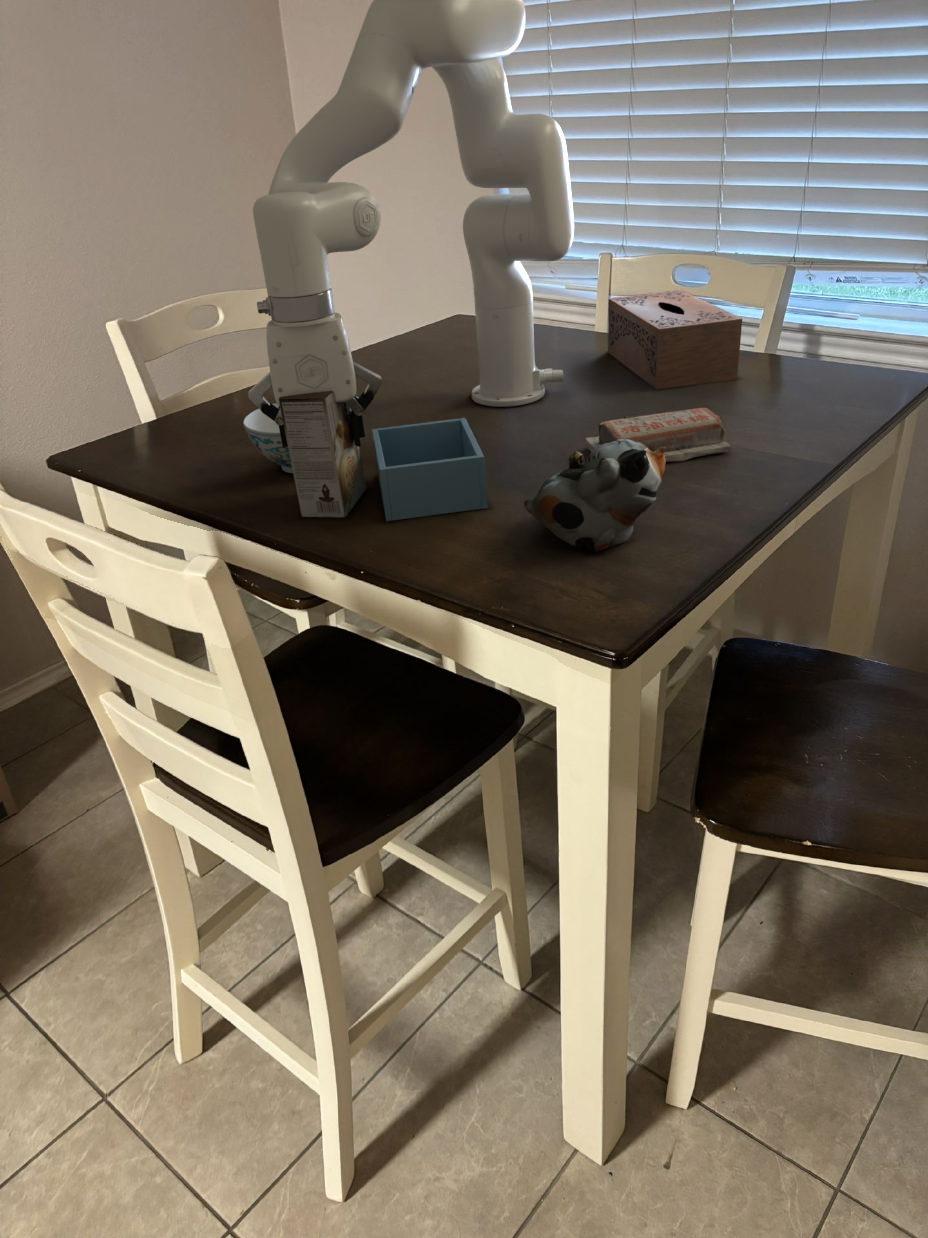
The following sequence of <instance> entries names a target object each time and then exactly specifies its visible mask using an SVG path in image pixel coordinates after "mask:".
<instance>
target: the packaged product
mask: <svg viewBox="0 0 928 1238" xmlns="http://www.w3.org/2000/svg"><path fill="white" fill-rule="evenodd" d="M725 434H726V431H725V428H724V427H723V423H722V420H721V419H720V416H719V415H717V414H716V413H714V412H713V411H712V410H710V409H709V408H707V407H695V408H690V409H689V408H688V409H681V410H680V409H679V410H674V411H666V412H661V413H660V412H659V413H652V414H646V415H645V414H644V415H639V416H633V417H632V416H631V417H625V418H619V419H618V418H617V419H611V420H605V421H601V422H600V423H599V424H598V435H597V436H591V437H590V436H589V437H585V444H586V449H588V451H590V453H591V452H592V451H593V450H595V449H597V447H599V446H600V445H602V444H605V443H610V442H613V441H617V440H618V439H628V440H632V441H634V442H639V443H642V444H643V445H645V446H646V447H647V448H648V449H649V450H651V451H652V452H654V451H655V450H657V449H658V448H660V447H666V452H665V453H664V456H665V463H666V462H685V461H688V460H689V459H692V458H698V457H703V456H709V455H710V456H711V455H716V454H717V455H718V454H722V453H728V452H730V451H731V449H732V445H731V444H730V443H728V442H727V441H726V440H724V438H725Z"/></svg>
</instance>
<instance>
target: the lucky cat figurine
mask: <svg viewBox="0 0 928 1238" xmlns="http://www.w3.org/2000/svg"><path fill="white" fill-rule="evenodd" d="M665 452H666V447H660V448H658V449H657V450H655V451H654V452H652V451H651V450H649V449H648V448H647V447H646V446H645V445H643V444H642V443H639V442H634V441H632V440H628V439H618V440H617V441H613V442H610V443H605V444H602V445H600V446H599V447H597V449H595V450H593V451H592V452H591V451H590V454H589V455H588V456H587V458H586V461H585V456H584V454H583V453H581V452H579V451H575V452H574V453H572V454H571V455H570V456H569V457H568V464H569V466H568V467H567V468H565V469H563V470H562V471H559V472H555V473H553V474H551V475H550V476H549V477H548V478H546V479H545V480H544V482H543V483H542V485H541V487H540V488H539V490H538V492H537V494H536V495H535V496H534V497H530V498H528V499H526V500H524V502H523V504H524V505H523V506H524V508H525V510H526V511H527V512H528V513H529V514H530V515H531V516H532V517H533V518H535V519H536V520H537V521H538V522H540V523H541V524H542V525H543V526H545V527H546V528H547V529H548V530H549V531H550V532H551V533H552V534H553V535H555V536H556V537H557V538H559V539H561V540H563V541H564V542H565V543H567V544H569V545H571V546H573V547H577V548H578V547H581V546H586V548H587V549H588V551H589V552H590V553H591V552H594V553H599V552H601V551H604V550H606V549H609V548H612V547H614V546H617V545H620V544H623V543H625V542H627V541H629V539H630V538H631V536H632V534H633V533H634V524H635V521H636V520H637V518H638V517H639V516H641V514H642V513H644V512H647V511H648V509H649V508H650V507H651V506H652V505H653V504H654V503H655V502H656V501H657V491H658V489H659V487H660V485H661V483H662V477H663V475H664V473H665V470H666V462H665V456H664V453H665Z"/></svg>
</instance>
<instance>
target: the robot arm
mask: <svg viewBox="0 0 928 1238" xmlns="http://www.w3.org/2000/svg"><path fill="white" fill-rule="evenodd" d="M525 27H526V7H525V4H524V0H372V2H371V3H370V6H369V7H368V10H367V12H366V14H365V17H364V20H363V23H362V25H361V28H360V31H359V33H358V36H357V39H356V41H355V43H354V47H353V49H352V52H351V55H350V57H349V60H348V64H347V66H346V68H345V71H344V73H343V76H342V79H341V82H340V85H339V87H338V89H337V92H336V93H335V94H334V96H333V97H332V98H331V99H330V100H329V101H328V102H326V103H325V104H324V105H323V106H322V107H321V108H320V109H319V110H318V111H317V112H316V113H315V114H314V115H313V116H312V117H311V118H310V119H309V121H308V122H307V123H306V124H305V125H304V126H302V128H300V130H299V131H298V132H297V133H296V134H295V136H294V137H293V138H292V139H291V140H290V142H289V143H288V144H287V146H286V148H285V150H284V151H283V153H282V155H281V157H280V159H279V162H278V164H277V167H276V170H275V171H274V172H275V173H274V175H273V178H272V181H271V184H270V187H269V189H268V194H266V195H263V196H260V197H259V198H257V199H256V200H255V201H254V203H253V206H252V216H253V223H254V227H255V232H256V233H255V234H256V238H257V244H258V250H259V255H260V259H261V265H262V270H263V271H262V272H263V276H264V283H265V288H266V292H267V297H265V299H262V301H256V308H257V311H258V312H257V313H258V315H259V314H260V315H261V314H264V315H268V317H270V318H271V320H269V321H268V322H267V323H266V349H267V358H268V359H267V360H268V368H269V372H268V373H267V374H265V375H264V377H262V379H260V380H259V381H258V382H257V383H256V384H255V385H254V386H253V387H252V388H251V389H249V391H248V394H247V397H248V400H249V401H251V403H253V404H254V405H255V406H256V407H257V409H260V410H261V411H262V413H264V414H265V415H266V416H268V417H269V418H271V419H272V420H273V421H275V423H276V424H277V425H279V430H280V436H281V441H282V446H283V447H288V444H287V439H286V434H285V428H284V423H283V418H282V413H281V408H280V403H279V398H280V397H284V396H290V395H298V394H306V393H315V392H325V391H333V392H334V395H335V400H336V402H337V403H339V402H345V403H346V404H347V405H348V406H349V407H350V409H351V410H352V412H351V419H352V426H353V433H354V440H355V446H357V447H361V446H362V444H361V438H362V439H363V438H366V433H365V427H364V419H363V415H364V413H365V411H366V410H367V408H368V407H369V406H370V405H371V403H372V402H373V401H374V399H375V396H376V394H377V392H378V391H379V389H380V387H381V385H382V383H383V380H382V377H381V375H380V374H378V373H376V372H374V371H372V370H370V369H368V368H367V367H364V366H362V365H361V364H359V363H357V362H355V361H353V355H352V350H351V346H350V340H349V336H348V333H347V329H346V326H345V323H344V319H343V317H342V315H341V314H340V313H339V312H336V311H335V303H334V297H333V291H332V283H331V276H330V269H329V262H328V255H329V254H332V253H334V254H335V253H346V252H354V251H359V250H362V249H363V248H365V247H367V246H368V245H370V243H371V242H372V241H374V239H375V238H376V236H377V235H378V232H379V230H380V228H381V227H380V226H381V221H382V220H381V218H382V217H381V208H380V206H379V202H378V201H377V199H376V198H375V196H374V194H373V193H372V192H371V191H370V190H369V189H368V188H366V187H364V186H362V185H360V184H358V183H353V182H348V181H346V182H343V181H341V182H340V181H338V182H337V181H336V182H335V181H334V182H332V181H331V182H329V181H330V180H331V178H332V177H333V176H334V175H335V174H336V173H337V172H339V171H340V170H341V169H342V168H344V167H345V166H346V165H347V164H349V163H351V162H353V161H355V160H357V159H359V158H360V157H362V156H364V155H366V154H368V153H370V152H373V151H374V150H376V149H378V148H380V147H382V146H383V145H385V144H387V143H388V142H389V141H391V140H392V139H393V138H395V137H396V136H397V135H398V134H399V132H400V131H401V129H402V127H403V125H404V122H405V119H406V116H407V113H408V110H409V108H410V104H411V102H412V99H413V97H414V94H415V91H416V88H417V85H418V82H419V80H420V77H421V74H422V72H423V71H425V69H428V68H433V70H434V71H435V72H436V74H438V76H439V77H440V80H441V81H442V82H443V84H444V87H445V88H446V91H447V95H448V98H449V103H450V107H451V112H452V119H453V124H454V130H455V136H456V141H457V148H458V153H459V159H460V163H461V167H462V171H463V174H464V176H465V179H466V180H467V182H468V183H469V184H470V185H472V186H474V187H477V188H480V189H526V190H527V191H528V193H493V194H485V195H483V196H480V197H478V198H476V199H474V200H473V201H472V202H471V203H469V205H468V206H467V207H466V209H465V212H464V214H463V219H462V233H463V240H464V243H465V244H464V245H465V248H466V251H467V255H468V259H469V265H470V270H471V278H472V289H473V300H474V301H473V303H474V316H475V330H476V331H475V332H476V345H477V348H476V349H477V362H478V375H479V384H478V385H476V386H475V387H474V388H472V389H471V392H470V393H471V399H472V400H473V401H474V402H475V403H476V404H478V405H482V406H487V407H496V408H498V407H499V408H503V407H505V408H506V407H507V408H509V407H517V406H524V405H527V404H531V403H534V402H537V401H539V400H541V399H542V398H543V397H544V396H545V394H546V389H545V388H546V387H545V385H546V383H550V382H551V383H557V382H558V383H559V382H563V381H564V372H563V369H553V368H550V367H549V368H544V369H539V368H538V367H537V365H536V360H535V357H536V355H535V331H534V329H535V328H534V327H535V326H534V298H533V297H534V294H533V286H532V282H531V279H530V276H529V274H528V273H527V270H525V269H526V268H525V267H524V266H523V264H522V262H543V263H544V262H556V261H559V260H561V259H563V258H564V257H565V256H566V255H567V254H568V253H569V252H570V250H571V248H572V245H573V242H574V236H575V218H574V206H573V195H572V194H573V193H572V186H571V176H570V175H571V174H570V166H569V155H568V149H567V143H566V142H567V141H566V137H565V134H564V133H563V130H562V128H561V126H560V124H559V123H558V121H556V120H555V118H553V117H552V116H550V115H547V114H544V113H525V114H516V113H515V112H514V110H513V107H512V102H511V96H510V91H509V84H508V79H507V75H506V71H505V68H504V66H503V65H502V63H501V61H500V58H505V57H508V56H509V55H511V54H512V53H513V52H515V50H516V49H517V48H518V47H519V45H520V43H521V42H522V39H523V36H524V33H525ZM356 378H359V379H361V380H362V381H364V382H366V383H367V386H366V388H365V389H364V391H363V392H362V393H361V394H360V396H358V395H357V379H356ZM271 388H272V391H273V396H274V400H275V403H277V404H278V405H279V407H278V408H277V407H276V406H274V405H273V404H274V403H271V402H270V401H268V400H267V399H266V398H265V397H264V394H265V393H266V392H267V391H269V389H271ZM288 451H289V449H288ZM289 455H290V454H289Z"/></svg>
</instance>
